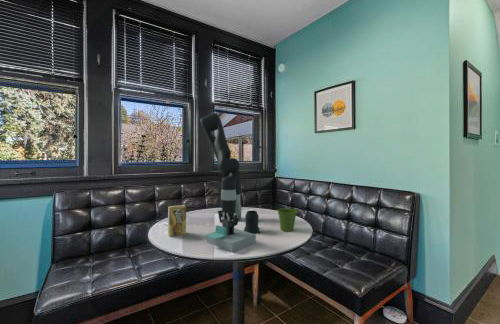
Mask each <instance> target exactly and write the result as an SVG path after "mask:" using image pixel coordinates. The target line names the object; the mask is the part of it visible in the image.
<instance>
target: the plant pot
mask: <svg viewBox="0 0 500 324" xmlns="http://www.w3.org/2000/svg"><path fill="white" fill-rule="evenodd" d="M276 211H277V214H278V219H279V226H280V230H281V231H283V232H292V231H294V229H295V228H294V227H295V224H296V223H295V221H296V217H297V214H298V210H297V209H293V208H279V209H277V210H276Z"/></svg>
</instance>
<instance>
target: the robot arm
mask: <svg viewBox="0 0 500 324" xmlns="http://www.w3.org/2000/svg"><path fill="white" fill-rule="evenodd" d="M199 121H200V124H201V127H202V129H203V131H204V133H205V135H206V138H207V139H208V141H209V143H210V145H211V148H212V151H213V153H214V156H215V158H216V160H217V167H218V170H219V172H220V173H222V176H223V177H222V179H221V188H220V189H221V191H220V208H221V210H218V211H217V214H218V219H219V222H220V223H221V224H222V219H228V221H229V225H230V227H229V234H233V233H234V228H235V226H238V223H239V221H240V220H241V219H242V204H241V193H242V192H241V191H242V173H241V170H240V162H239V160H238V159H237V158H234V157H232V156H231V155H232V152H231V148H230V146H229V144H228V141H227V138H226V134H225V131H224V125H223V123H222V119H221V117H220V115H219V113H217V112H216V113H215V112H213V113H211V114H208V115H205V116H202V117H201V118H200V120H199ZM214 131H217V134H216V136H215V135H214V134H213V132H214ZM231 157H232V158H231ZM230 219H232V220H230ZM231 222H232V223H231Z"/></svg>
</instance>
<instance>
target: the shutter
mask: <svg viewBox="0 0 500 324" xmlns="http://www.w3.org/2000/svg"><path fill="white" fill-rule="evenodd" d="M215 231H216V232H215ZM215 231H213V232H214V233H212V232H210V233H211V234H209V233H207V234H208V235H207V234H206V235H205V237H206V238H207V237H208V238H211V239H213V240H218V239H221V238H224V237H227V228H225V227H222V225H219V224H217V225H215Z"/></svg>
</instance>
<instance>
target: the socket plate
mask: <svg viewBox="0 0 500 324" xmlns="http://www.w3.org/2000/svg"><path fill="white" fill-rule="evenodd" d="M214 232H216V230H214V231H212V232H209V233H206V235H208V234H211V233H214ZM256 234H257V233H256ZM256 234H252V233H249V232H246V231H244V230H242V229H239V228H236V227H234V234H232V235H229V236H227V237H224V238H221V239H218V240H213V239H211V238H208V237H206V243H208V244H210V245H213V246H215V247H218V248H220V249H222V250H226V251H228V252H230V253H234V252H236V251H238V250H241V249H244V248H246V247H248V246H250V245H253V244H256V241H257V240H256V239H257V235H256Z"/></svg>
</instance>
